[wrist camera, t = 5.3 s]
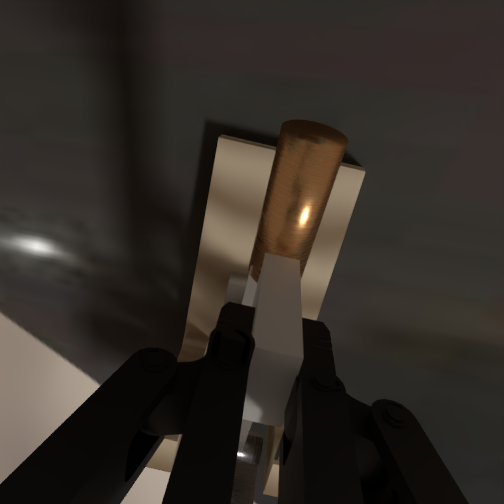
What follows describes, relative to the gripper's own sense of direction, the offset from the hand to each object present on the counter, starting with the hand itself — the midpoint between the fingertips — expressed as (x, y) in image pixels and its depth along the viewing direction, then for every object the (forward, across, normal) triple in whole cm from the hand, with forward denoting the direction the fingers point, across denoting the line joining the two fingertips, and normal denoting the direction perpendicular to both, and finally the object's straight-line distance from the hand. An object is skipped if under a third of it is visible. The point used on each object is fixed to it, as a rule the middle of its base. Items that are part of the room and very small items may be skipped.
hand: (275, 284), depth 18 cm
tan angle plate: (+16, 0, -8) cm, 18 cm away
